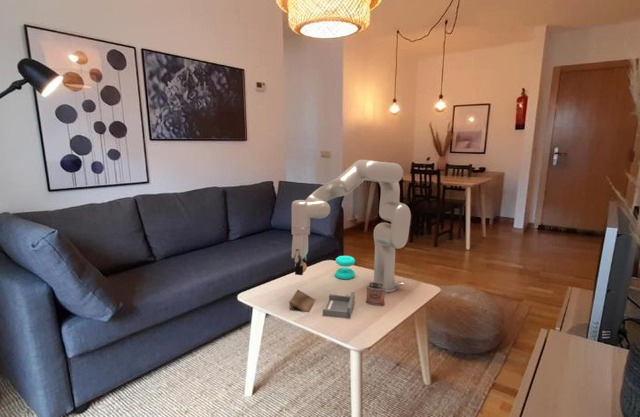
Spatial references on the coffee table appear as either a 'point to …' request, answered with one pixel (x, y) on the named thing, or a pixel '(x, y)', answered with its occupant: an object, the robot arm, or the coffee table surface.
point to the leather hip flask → (375, 293)
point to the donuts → (345, 261)
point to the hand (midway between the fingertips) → (300, 271)
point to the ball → (304, 266)
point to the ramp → (301, 301)
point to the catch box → (339, 306)
